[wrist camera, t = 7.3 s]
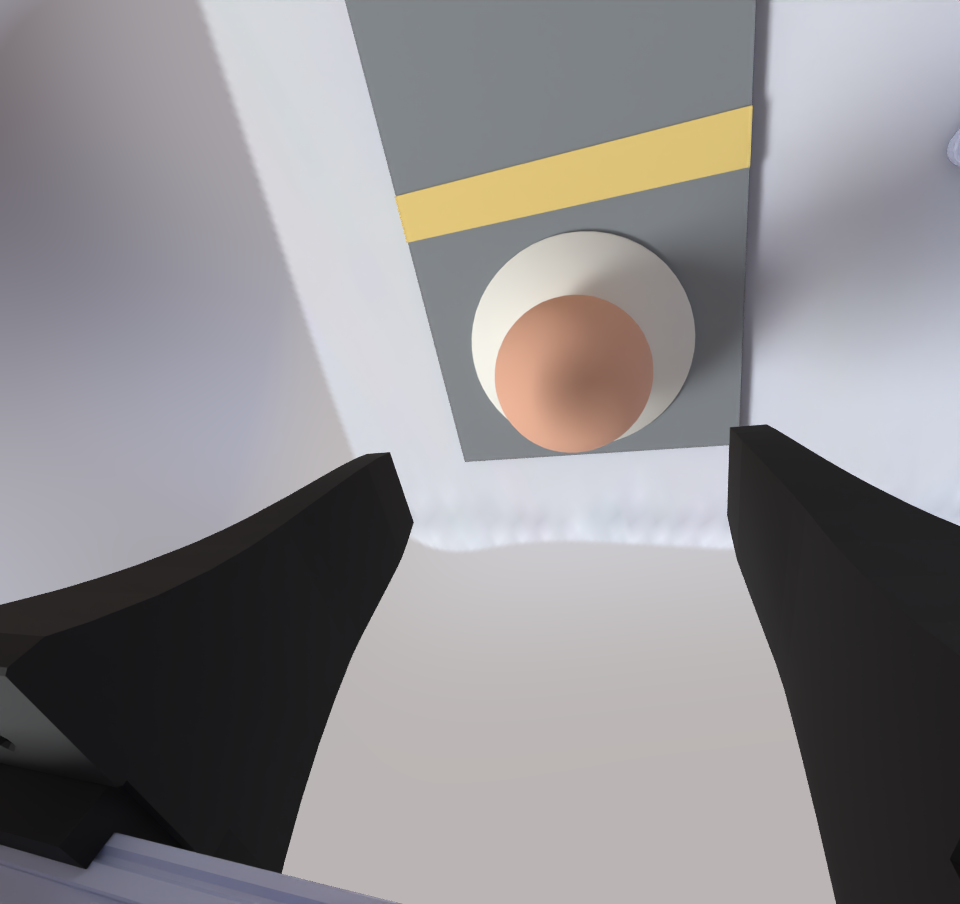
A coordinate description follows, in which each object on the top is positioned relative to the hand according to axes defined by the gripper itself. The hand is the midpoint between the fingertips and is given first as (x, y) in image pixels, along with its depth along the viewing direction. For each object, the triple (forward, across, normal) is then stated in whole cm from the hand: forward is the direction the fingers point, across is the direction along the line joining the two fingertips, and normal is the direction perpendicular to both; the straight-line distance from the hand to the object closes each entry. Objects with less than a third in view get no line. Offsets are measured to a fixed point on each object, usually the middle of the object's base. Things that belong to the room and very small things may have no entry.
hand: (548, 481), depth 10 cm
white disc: (+9, 0, 0) cm, 9 cm away
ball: (+6, 0, 0) cm, 6 cm away
